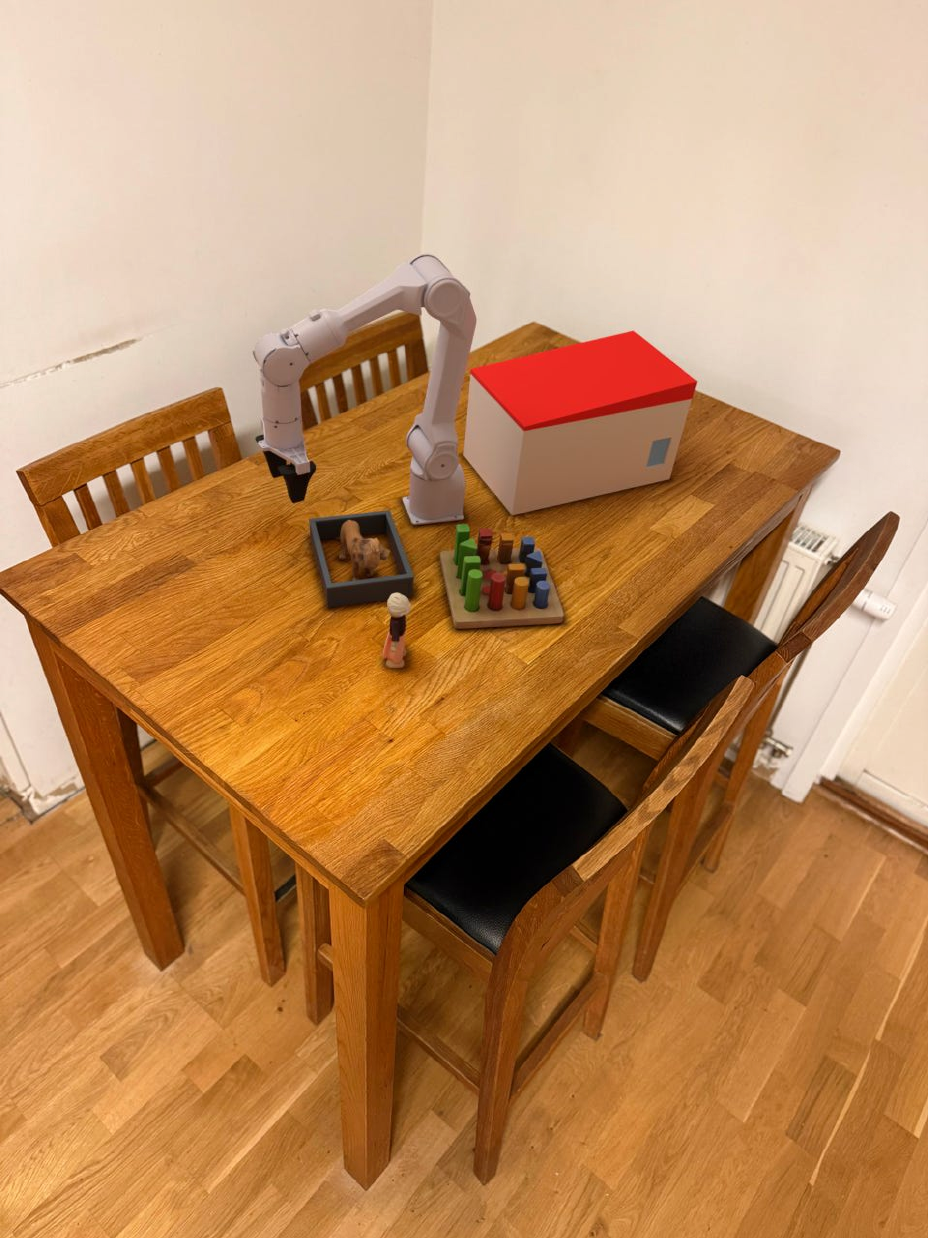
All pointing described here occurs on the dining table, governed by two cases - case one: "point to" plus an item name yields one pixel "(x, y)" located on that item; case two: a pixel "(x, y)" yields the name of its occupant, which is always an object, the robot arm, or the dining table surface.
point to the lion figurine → (361, 550)
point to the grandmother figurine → (396, 630)
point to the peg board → (498, 582)
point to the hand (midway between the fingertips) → (287, 488)
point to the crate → (368, 587)
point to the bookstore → (576, 421)
